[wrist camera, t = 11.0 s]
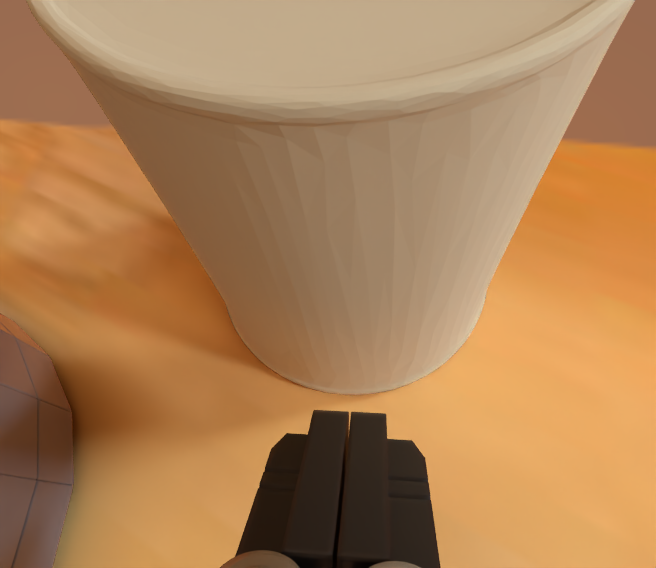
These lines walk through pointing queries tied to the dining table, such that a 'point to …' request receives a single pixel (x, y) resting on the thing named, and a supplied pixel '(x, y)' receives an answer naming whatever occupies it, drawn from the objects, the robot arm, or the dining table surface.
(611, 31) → the can
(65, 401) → the pan
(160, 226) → the dining table surface
